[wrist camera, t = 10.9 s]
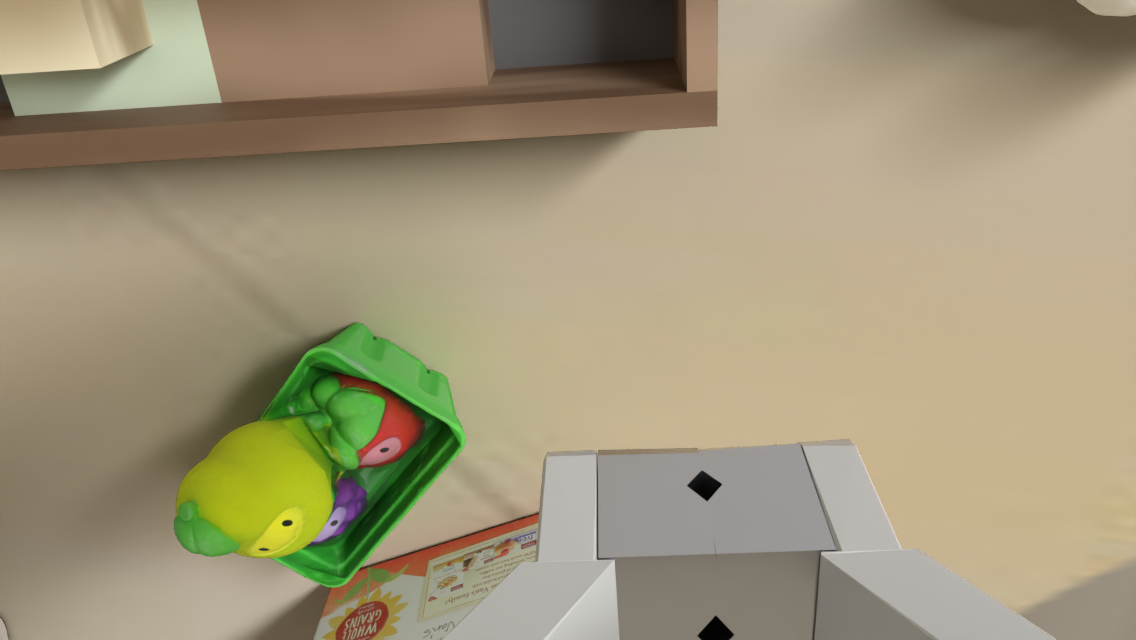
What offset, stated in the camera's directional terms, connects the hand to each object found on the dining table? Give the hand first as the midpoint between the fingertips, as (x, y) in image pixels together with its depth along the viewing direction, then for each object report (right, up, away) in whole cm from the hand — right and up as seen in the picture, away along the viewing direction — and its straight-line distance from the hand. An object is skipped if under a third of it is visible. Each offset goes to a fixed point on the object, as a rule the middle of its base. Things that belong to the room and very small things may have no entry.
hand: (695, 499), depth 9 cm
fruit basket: (-12, -2, +35) cm, 37 cm away
